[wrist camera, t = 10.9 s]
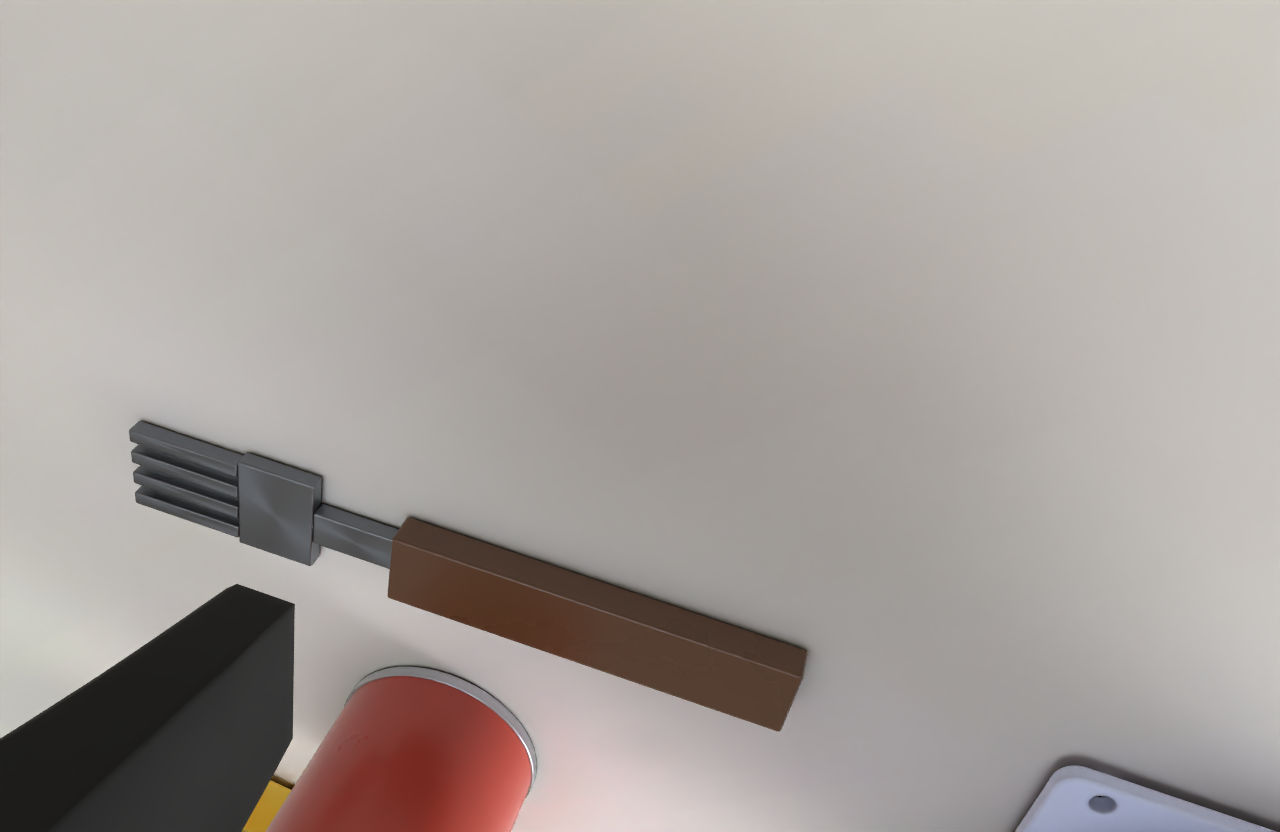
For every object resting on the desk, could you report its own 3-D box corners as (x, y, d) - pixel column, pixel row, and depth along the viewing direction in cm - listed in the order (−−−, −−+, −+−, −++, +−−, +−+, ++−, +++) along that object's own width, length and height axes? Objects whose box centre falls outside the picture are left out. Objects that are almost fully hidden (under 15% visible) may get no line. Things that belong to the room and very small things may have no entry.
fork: (812, 639, 23) (808, 668, 22) (782, 714, 24) (776, 743, 24) (138, 415, 25) (116, 435, 24) (146, 496, 26) (125, 517, 25)
